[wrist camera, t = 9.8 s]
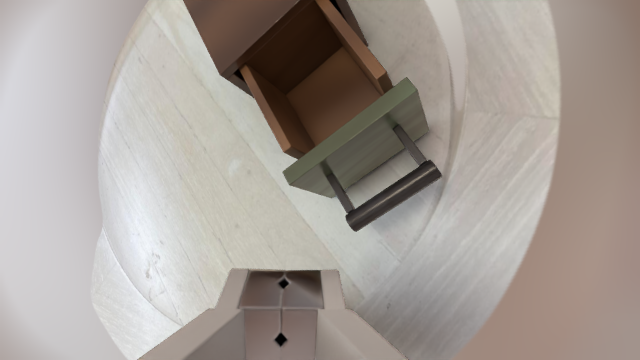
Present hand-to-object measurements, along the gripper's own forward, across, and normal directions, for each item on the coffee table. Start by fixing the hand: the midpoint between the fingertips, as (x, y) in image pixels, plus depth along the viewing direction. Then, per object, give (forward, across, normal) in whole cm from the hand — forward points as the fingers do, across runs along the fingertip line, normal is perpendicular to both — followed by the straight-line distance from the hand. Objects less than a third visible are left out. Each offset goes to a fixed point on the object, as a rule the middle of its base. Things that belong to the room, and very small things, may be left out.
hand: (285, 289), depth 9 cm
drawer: (+21, -5, -1) cm, 21 cm away
